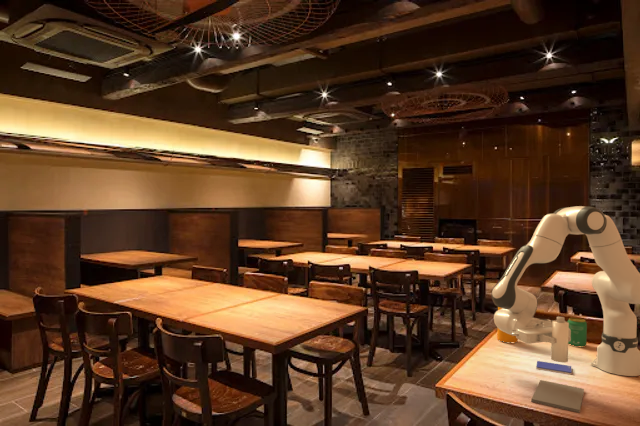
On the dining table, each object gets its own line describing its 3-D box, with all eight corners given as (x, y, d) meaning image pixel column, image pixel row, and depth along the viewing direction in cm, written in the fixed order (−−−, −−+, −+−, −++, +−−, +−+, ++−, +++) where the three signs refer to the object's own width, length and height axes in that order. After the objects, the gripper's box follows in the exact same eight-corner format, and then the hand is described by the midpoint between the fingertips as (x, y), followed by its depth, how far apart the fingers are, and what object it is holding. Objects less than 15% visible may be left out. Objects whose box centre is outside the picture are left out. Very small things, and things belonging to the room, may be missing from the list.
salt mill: (552, 356, 160) (553, 314, 159) (568, 359, 157) (569, 317, 157) (550, 360, 156) (551, 317, 155) (566, 363, 153) (568, 320, 152)
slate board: (540, 382, 169) (540, 379, 169) (584, 391, 161) (584, 388, 161) (531, 401, 152) (531, 398, 152) (579, 413, 144) (579, 409, 144)
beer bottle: (516, 344, 214) (517, 283, 213) (495, 341, 219) (496, 281, 218) (519, 340, 222) (520, 280, 221) (499, 336, 227) (500, 278, 226)
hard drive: (571, 365, 184) (537, 360, 190) (571, 371, 177) (536, 366, 183) (571, 369, 184) (537, 364, 190) (571, 375, 177) (536, 370, 183)
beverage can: (587, 344, 216) (588, 319, 216) (584, 348, 210) (584, 322, 210) (569, 341, 221) (569, 316, 221) (564, 344, 215) (565, 319, 215)
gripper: (508, 323, 164) (538, 333, 151) (551, 318, 172) (584, 328, 159) (507, 340, 165) (538, 352, 152) (550, 335, 172) (583, 346, 159)
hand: (562, 340), depth 155 cm, fingers closed on salt mill, 5 cm apart
